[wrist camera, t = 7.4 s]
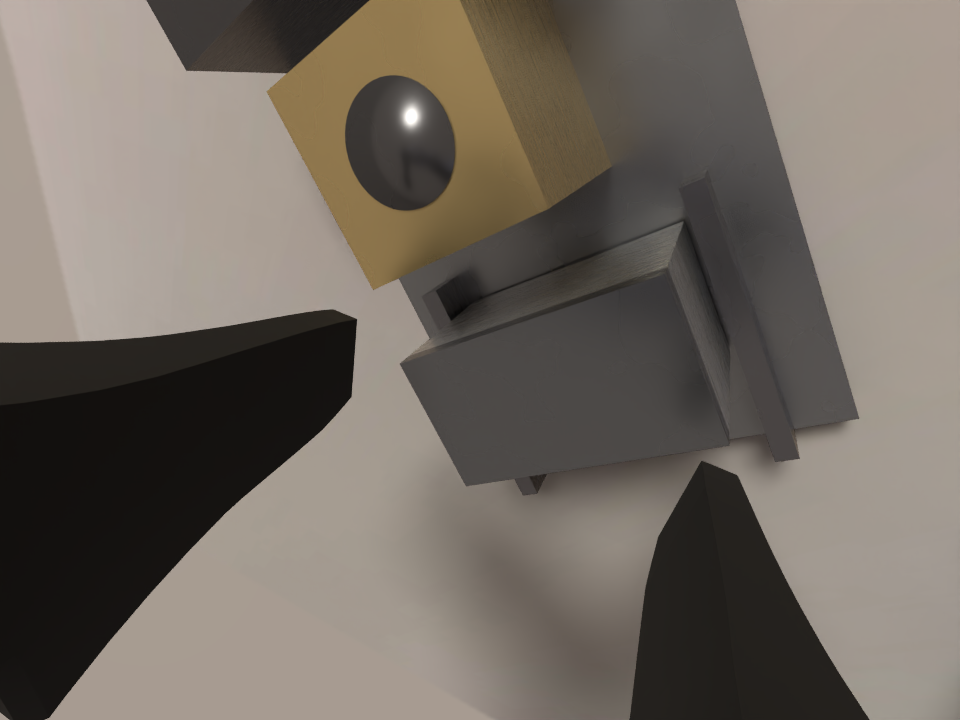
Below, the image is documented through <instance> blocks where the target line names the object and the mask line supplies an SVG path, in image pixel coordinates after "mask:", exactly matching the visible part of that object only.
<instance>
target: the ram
mask: <svg viewBox="0 0 960 720" xmlns="http://www.w3.org/2000/svg"><path fill="white" fill-rule="evenodd" d="M400 365H401V367H402V369H403V371H404V372H405V374H406V376H407V378H408V380H409V382H410V384H411V385H412V387H413V389H414V391H415V393H416V395H417V396H418V398H419V400H420V402H421V404H422V406H423V408H424V409H425V411H426V413H427V415H428V417H429V419H430V420H431V422H432V424H433V426H434V428H435V430H436V431H437V433H438V435H439V437H440V439H441V441H442V443H443V444H444V446H445V448H446V450H447V452H448V454H449V455H450V457H451V459H452V461H453V463H454V465H455V467H456V468H457V470H458V472H459V474H460V476H461V478H462V479H463V481H464V483H465V485H466V486H470V485H477V484H483V483H489V482H496V481H502V480H509V479H515V478H522V477H528V476H535V475H541V474H548V473H554V472H561V471H567V470H574V469H580V468H587V467H593V466H600V465H606V464H613V463H619V462H626V461H632V460H639V459H645V458H652V457H658V456H664V455H671V454H677V453H684V452H690V451H697V450H703V449H710V448H716V447H723V446H729V438H730V349H729V346H728V343H727V340H726V338H725V335H724V332H723V329H722V326H721V324H720V321H719V318H718V315H717V312H716V310H715V307H714V304H713V301H712V298H711V295H710V293H709V290H708V287H707V284H706V281H705V279H704V276H703V273H702V270H701V267H700V265H699V262H698V259H697V256H696V253H695V251H694V248H693V245H692V242H691V239H690V237H689V234H688V231H687V228H686V225H685V223H684V221H683V222H680V223H678V224H675V225H672V226H670V227H667V228H665V229H662V230H659V231H657V232H654V233H652V234H649V235H646V236H644V237H641V238H639V239H636V240H633V241H631V242H628V243H626V244H623V245H620V246H618V247H615V248H613V249H610V250H607V251H605V252H602V253H600V254H597V255H594V256H592V257H589V258H587V259H584V260H581V261H579V262H576V263H574V264H571V265H568V266H566V267H563V268H561V269H558V270H555V271H553V272H550V273H548V274H545V275H542V276H540V277H537V278H535V279H532V280H530V281H527V282H524V283H522V284H519V285H517V286H514V287H511V288H509V289H506V290H504V291H501V292H498V293H496V294H493V295H491V296H488V297H485V298H483V299H480V300H478V301H475V302H473V303H472V304H471V305H469V306H468V307H467V308H466V309H465V310H463V311H462V312H461V313H460V314H459V315H457V316H456V317H455V318H454V319H453V320H452V321H450V322H449V323H448V324H447V325H446V326H444V327H443V328H442V329H441V330H440V331H438V332H437V333H436V334H435V335H434V336H432V337H431V338H430V339H429V340H428V341H426V342H425V343H424V344H423V345H422V346H420V347H419V348H418V349H417V350H416V351H414V352H413V353H412V354H411V355H410V356H409V357H407V358H406V359H405V360H404V361H403V362H401V363H400Z"/></svg>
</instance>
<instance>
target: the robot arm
mask: <svg viewBox="0 0 960 720" xmlns="http://www.w3.org/2000/svg"><path fill="white" fill-rule="evenodd" d="M356 326H357V319H355V318H353V317H350V316H348V315H345V314H343V313H341V312H338V311H336V310H321V311H313V312H306V313H300V314H294V315H288V316H282V317H276V318H271V319H265V320H260V321H254V322H248V323H243V324H237V325H231V326H225V327H219V328H212V329H205V330H198V331H191V332H185V333H178V334H171V335H162V336H153V337H143V338H132V339H119V340H105V341H82V342H44V343H0V712H1V713H2V714H3V715H4V716H6V717H7V718H8V719H9V720H45V719H47V718H49V717H50V716H51V715H52V713H53V712H54V711H55V709H56V708H57V707H58V705H59V704H60V703H61V701H62V700H63V699H64V697H65V696H66V695H67V694H68V692H69V691H70V690H71V689H72V687H73V686H74V685H75V684H76V682H77V681H78V680H79V679H80V677H81V676H82V675H83V674H84V672H85V671H86V670H87V669H88V667H89V666H90V665H91V663H92V662H93V661H94V659H96V657H97V656H98V655H99V653H100V652H101V651H102V650H103V648H104V647H105V646H106V645H107V643H108V642H109V641H110V640H111V639H112V637H113V636H114V635H115V634H116V633H117V632H118V630H119V629H120V628H121V627H122V626H123V625H124V623H125V622H126V621H127V620H128V618H130V616H131V615H132V614H133V613H134V612H135V610H136V609H137V608H138V607H139V606H140V605H141V603H142V602H143V601H144V600H145V599H146V598H147V596H148V595H149V594H150V593H151V592H152V591H153V590H154V589H155V587H156V586H157V585H158V584H159V583H160V582H161V581H162V580H163V579H164V578H165V576H166V575H167V574H168V573H169V572H170V571H171V570H172V569H173V568H174V567H175V566H176V564H177V563H178V562H179V561H180V560H181V559H182V558H183V557H184V556H185V554H186V553H187V552H188V551H189V550H190V549H191V548H192V547H193V546H194V545H195V544H196V543H197V542H198V541H199V540H200V539H201V538H202V537H203V536H204V535H205V534H206V533H207V532H208V531H209V530H210V529H211V528H212V527H213V525H214V524H215V523H216V522H217V521H218V520H219V519H220V518H221V517H222V516H223V515H224V514H225V513H226V512H227V511H229V510H230V509H231V508H232V507H233V506H234V505H235V504H236V503H237V502H238V501H239V500H241V499H242V498H243V497H244V496H245V495H246V494H248V493H249V492H250V491H251V490H252V489H253V488H255V487H256V486H257V485H258V484H259V483H261V482H262V481H263V480H264V479H265V478H267V477H268V476H269V475H270V474H271V473H272V472H274V471H275V470H276V469H277V468H278V467H280V466H281V465H282V464H283V463H284V462H286V461H287V460H288V459H289V458H290V457H291V456H293V455H294V454H295V453H296V452H297V451H299V450H300V449H301V448H302V447H303V446H304V445H305V444H307V443H308V442H309V441H310V440H311V439H312V438H314V437H315V436H316V435H317V434H318V433H319V432H320V431H322V430H323V428H324V427H325V426H326V425H327V424H328V423H329V422H330V421H331V420H332V419H333V418H334V417H335V415H336V414H337V413H338V412H339V411H340V410H341V408H342V407H343V406H344V405H345V404H346V403H347V401H348V400H349V399H350V398H351V396H352V382H353V368H354V354H355V340H356ZM629 720H869V718H868V717H867V715H866V714H865V712H864V711H863V709H862V708H861V706H860V705H859V703H858V701H857V700H856V698H855V697H854V695H853V694H852V692H851V691H850V689H849V688H848V686H847V685H846V683H845V682H844V680H843V679H842V677H841V676H840V674H839V672H838V671H837V669H836V667H835V666H834V664H833V663H832V661H831V659H830V658H829V656H828V654H827V653H826V651H825V649H824V648H823V646H822V644H821V642H820V641H819V639H818V637H817V635H816V634H815V632H814V630H813V628H812V627H811V625H810V623H809V621H808V620H807V618H806V616H805V614H804V612H803V611H802V609H801V607H800V605H799V603H798V602H797V600H796V598H795V596H794V594H793V592H792V590H791V588H790V587H789V585H788V583H787V581H786V579H785V577H784V575H783V573H782V571H781V569H780V567H779V565H778V563H777V561H776V559H775V557H774V555H773V553H772V550H771V548H770V546H769V544H768V542H767V540H766V538H765V535H764V533H763V531H762V529H761V527H760V524H759V522H758V520H757V518H756V516H755V513H754V511H753V509H752V507H751V504H750V502H749V500H748V498H747V495H746V493H745V491H744V489H743V487H742V484H741V482H740V480H739V478H738V476H737V475H735V474H733V473H731V472H728V471H726V470H723V469H721V468H718V467H716V466H713V465H711V464H709V463H706V462H704V461H701V463H700V464H699V466H698V468H697V470H696V471H695V473H694V475H693V477H692V479H691V480H690V482H689V484H688V486H687V487H686V489H685V491H684V493H683V494H682V496H681V498H680V500H679V501H678V503H677V505H676V507H675V508H674V510H673V512H672V514H671V516H670V517H669V519H668V521H667V523H666V524H665V526H664V528H663V530H662V531H661V533H660V535H659V537H658V540H657V544H656V548H655V552H654V555H653V559H652V563H651V567H650V571H649V575H648V580H647V584H646V589H645V596H644V604H643V612H642V621H641V629H640V637H639V646H638V654H637V663H636V671H635V680H634V688H633V697H632V705H631V713H630V719H629Z"/></svg>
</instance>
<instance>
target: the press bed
mask: <svg viewBox="0 0 960 720" xmlns="http://www.w3.org/2000/svg"><path fill="white" fill-rule="evenodd" d="M368 1H369V0H147V2H148V4H149V6H150V7H151V9H152V11H153V13H154V14H155V16H156V18H157V20H158V21H159V23H160V25H161V27H162V28H163V30H164V32H165V34H166V35H167V37H168V39H169V41H170V43H171V44H172V46H173V48H174V50H175V51H176V53H177V55H178V57H179V58H180V60H181V62H182V64H183V65H184V67H185V69H186V71H221V72H260V73H288V72H289V71H290V70H292V69H293V68H294V67H295V66H296V65H297V64H298V63H299V62H301V61H302V60H303V59H304V58H305V57H306V56H307V55H308V54H310V53H311V52H312V51H313V50H314V49H315V48H316V47H317V46H319V45H320V44H321V43H322V42H323V41H324V40H325V39H326V38H328V37H329V36H330V35H331V34H332V33H333V32H334V31H336V30H337V29H338V28H339V27H340V26H341V25H342V24H343V23H345V22H346V21H347V20H348V19H349V18H350V17H351V16H352V15H354V14H355V13H356V12H357V11H358V10H359V9H360V8H361V7H363V6H364V5H365V4H366V3H367V2H368ZM548 2H549V5H550V7H551V10H552V13H553V15H554V18H555V20H556V23H557V26H558V28H559V31H560V33H561V36H562V39H563V41H564V44H565V46H566V49H567V51H568V54H569V57H570V59H571V62H572V64H573V67H574V70H575V72H576V75H577V77H578V80H579V83H580V85H581V88H582V90H583V93H584V96H585V98H586V101H587V103H588V106H589V108H590V111H591V114H592V116H593V119H594V121H595V124H596V127H597V129H598V132H599V134H600V137H601V140H602V142H603V145H604V147H605V150H606V153H607V155H608V158H609V160H610V163H611V167H610V168H608V169H607V170H605V171H604V172H603V173H601V174H600V175H598V176H597V177H595V178H594V179H592V180H591V181H589V182H588V183H586V184H585V185H583V186H582V187H580V188H579V189H577V190H576V191H574V192H573V193H571V194H570V195H568V196H567V197H565V198H564V199H562V200H561V201H559V202H558V203H556V204H555V205H553V206H552V207H550V208H549V209H547V210H545V211H543V212H540V213H538V214H536V215H534V216H532V217H530V218H527V219H525V220H523V221H521V222H519V223H517V224H515V225H512V226H510V227H508V228H506V229H504V230H502V231H499V232H497V233H495V234H493V235H491V236H489V237H486V238H484V239H482V240H480V241H478V242H476V243H473V244H471V245H469V246H467V247H465V248H463V249H460V250H458V251H456V252H454V253H452V254H450V255H448V256H445V257H443V258H441V259H439V260H437V261H435V262H432V263H430V264H428V265H426V266H424V267H422V268H419V269H417V270H415V271H413V272H411V273H409V274H406V275H404V276H402V277H400V278H399V280H400V282H401V284H402V286H403V288H404V290H405V291H406V293H407V295H408V297H409V299H410V301H411V303H412V305H413V307H414V309H415V311H416V313H417V315H418V317H419V318H420V320H421V322H422V324H423V326H424V328H425V330H426V332H427V334H428V336H429V338H431V337H432V336H434V335H435V334H436V333H437V332H438V331H440V330H441V329H442V328H443V327H444V326H446V325H447V324H448V323H449V322H450V321H452V320H453V319H454V318H455V317H456V316H457V315H459V314H460V313H461V312H462V311H463V310H465V309H466V308H467V307H468V306H469V305H471V304H472V303H473V302H475V301H478V300H480V299H483V298H485V297H488V296H491V295H493V294H496V293H498V292H501V291H504V290H506V289H509V288H511V287H514V286H517V285H519V284H522V283H524V282H527V281H530V280H532V279H535V278H537V277H540V276H542V275H545V274H548V273H550V272H553V271H555V270H558V269H561V268H563V267H566V266H568V265H571V264H574V263H576V262H579V261H581V260H584V259H587V258H589V257H592V256H594V255H597V254H600V253H602V252H605V251H607V250H610V249H613V248H615V247H618V246H620V245H623V244H626V243H628V242H631V241H633V240H636V239H639V238H641V237H644V236H646V235H649V234H652V233H654V232H657V231H659V230H662V229H665V228H667V227H670V226H672V225H675V224H678V223H680V222H683V221H684V223H685V225H686V228H687V231H688V234H689V237H690V239H691V242H692V245H693V248H694V251H695V253H696V256H697V259H698V262H699V265H700V267H701V270H702V273H703V276H704V279H705V281H706V284H707V287H708V290H709V293H710V295H711V298H712V301H713V304H714V307H715V310H716V312H717V315H718V318H719V321H720V324H721V326H722V329H723V332H724V335H725V338H726V340H727V343H728V346H729V349H730V438H729V439H735V438H741V437H748V436H754V435H760V434H765V435H766V437H767V440H768V443H769V446H770V449H771V452H772V454H773V457H774V460H775V462H779V461H786V460H794V459H800V458H799V452H798V446H797V441H796V435H795V429H798V428H804V427H810V426H816V425H823V424H829V423H835V422H841V421H848V420H854V419H859V416H858V413H857V409H856V406H855V403H854V399H853V396H852V393H851V389H850V386H849V382H848V379H847V376H846V372H845V369H844V366H843V362H842V359H841V355H840V352H839V349H838V345H837V342H836V339H835V335H834V332H833V328H832V325H831V322H830V318H829V315H828V312H827V308H826V305H825V301H824V298H823V295H822V291H821V288H820V285H819V281H818V278H817V274H816V271H815V268H814V264H813V261H812V258H811V254H810V251H809V247H808V244H807V241H806V237H805V234H804V231H803V227H802V224H801V220H800V217H799V214H798V210H797V207H796V204H795V200H794V197H793V193H792V190H791V187H790V183H789V180H788V177H787V173H786V170H785V166H784V163H783V160H782V156H781V153H780V150H779V146H778V143H777V139H776V136H775V133H774V129H773V126H772V123H771V119H770V116H769V112H768V109H767V106H766V102H765V99H764V96H763V92H762V89H761V85H760V82H759V79H758V75H757V72H756V69H755V65H754V62H753V58H752V55H751V52H750V48H749V45H748V42H747V38H746V35H745V31H744V28H743V25H742V21H741V18H740V15H739V11H738V8H737V4H736V1H735V0H548ZM546 475H547V474H541V475H535V476H528V477H522V478H515V481H516V483H517V485H518V487H519V489H520V491H521V493H522V495H530V494H537V493H538V491H539V489H540V487H541V485H542V483H543V481H544V479H545V477H546Z"/></svg>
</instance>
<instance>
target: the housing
mask: <svg viewBox="0 0 960 720" xmlns="http://www.w3.org/2000/svg"><path fill="white" fill-rule="evenodd" d="M267 93H268V95H269V97H270V99H271V101H272V102H273V104H274V106H275V108H276V110H277V112H278V114H279V115H280V117H281V119H282V121H283V123H284V125H285V127H286V128H287V130H288V132H289V134H290V136H291V138H292V140H293V142H294V143H295V145H296V147H297V149H298V151H299V153H300V155H301V156H302V158H303V160H304V162H305V164H306V166H307V168H308V169H309V171H310V173H311V175H312V177H313V179H314V181H315V182H316V184H317V186H318V188H319V190H320V192H321V194H322V195H323V197H324V199H325V201H326V203H327V205H328V207H329V208H330V210H331V212H332V214H333V216H334V218H335V220H336V222H337V223H338V225H339V227H340V229H341V231H342V233H343V235H344V236H345V238H346V240H347V242H348V244H349V246H350V248H351V249H352V251H353V253H354V255H355V257H356V259H357V261H358V262H359V264H360V266H361V268H362V270H363V272H364V274H365V275H366V277H367V279H368V281H369V283H370V285H371V287H372V288H373V290H374V289H376V288H378V287H381V286H383V285H385V284H387V283H389V282H391V281H393V280H396V279H398V278H400V277H402V276H404V275H406V274H409V273H411V272H413V271H415V270H417V269H419V268H422V267H424V266H426V265H428V264H430V263H432V262H435V261H437V260H439V259H441V258H443V257H445V256H448V255H450V254H452V253H454V252H456V251H458V250H460V249H463V248H465V247H467V246H469V245H471V244H473V243H476V242H478V241H480V240H482V239H484V238H486V237H489V236H491V235H493V234H495V233H497V232H499V231H502V230H504V229H506V228H508V227H510V226H512V225H515V224H517V223H519V222H521V221H523V220H525V219H527V218H530V217H532V216H534V215H536V214H538V213H540V212H543V211H545V210H547V209H549V208H550V207H552V206H553V205H555V204H556V203H558V202H559V201H561V200H562V199H564V198H565V197H567V196H568V195H570V194H571V193H573V192H574V191H576V190H577V189H579V188H580V187H582V186H583V185H585V184H586V183H588V182H589V181H591V180H592V179H594V178H595V177H597V176H598V175H600V174H601V173H603V172H604V171H605V170H607V169H608V168H610V167H611V163H610V160H609V158H608V155H607V153H606V150H605V147H604V145H603V142H602V140H601V137H600V134H599V132H598V129H597V127H596V124H595V121H594V119H593V116H592V114H591V111H590V108H589V106H588V103H587V101H586V98H585V96H584V93H583V90H582V88H581V85H580V83H579V80H578V77H577V75H576V72H575V70H574V67H573V64H572V62H571V59H570V57H569V54H568V51H567V49H566V46H565V44H564V41H563V39H562V36H561V33H560V31H559V28H558V26H557V23H556V20H555V18H554V15H553V13H552V10H551V7H550V5H549V2H548V0H369V1H368V2H367V3H366V4H365V5H364V6H363V7H361V8H360V9H359V10H358V11H357V12H356V13H355V14H354V15H352V16H351V17H350V18H349V19H348V20H347V21H346V22H345V23H343V24H342V25H341V26H340V27H339V28H338V29H337V30H336V31H334V32H333V33H332V34H331V35H330V36H329V37H328V38H326V39H325V40H324V41H323V42H322V43H321V44H320V45H319V46H317V47H316V48H315V49H314V50H313V51H312V52H311V53H310V54H308V55H307V56H306V57H305V58H304V59H303V60H302V61H301V62H299V63H298V64H297V65H296V66H295V67H294V68H293V69H292V70H290V71H289V72H288V73H287V74H286V75H285V76H284V77H283V78H281V79H280V80H279V81H278V82H277V83H276V84H275V85H274V86H272V87H271V88H270V89H269V90H268V91H267Z"/></svg>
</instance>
